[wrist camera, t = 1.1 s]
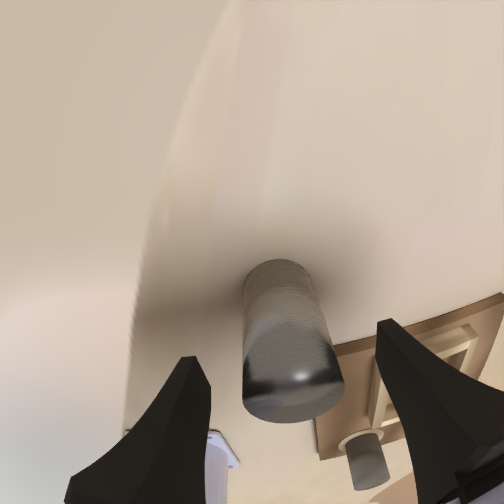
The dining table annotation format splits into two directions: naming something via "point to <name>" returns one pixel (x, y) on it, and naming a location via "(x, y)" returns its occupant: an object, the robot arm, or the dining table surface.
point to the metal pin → (286, 347)
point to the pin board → (377, 398)
